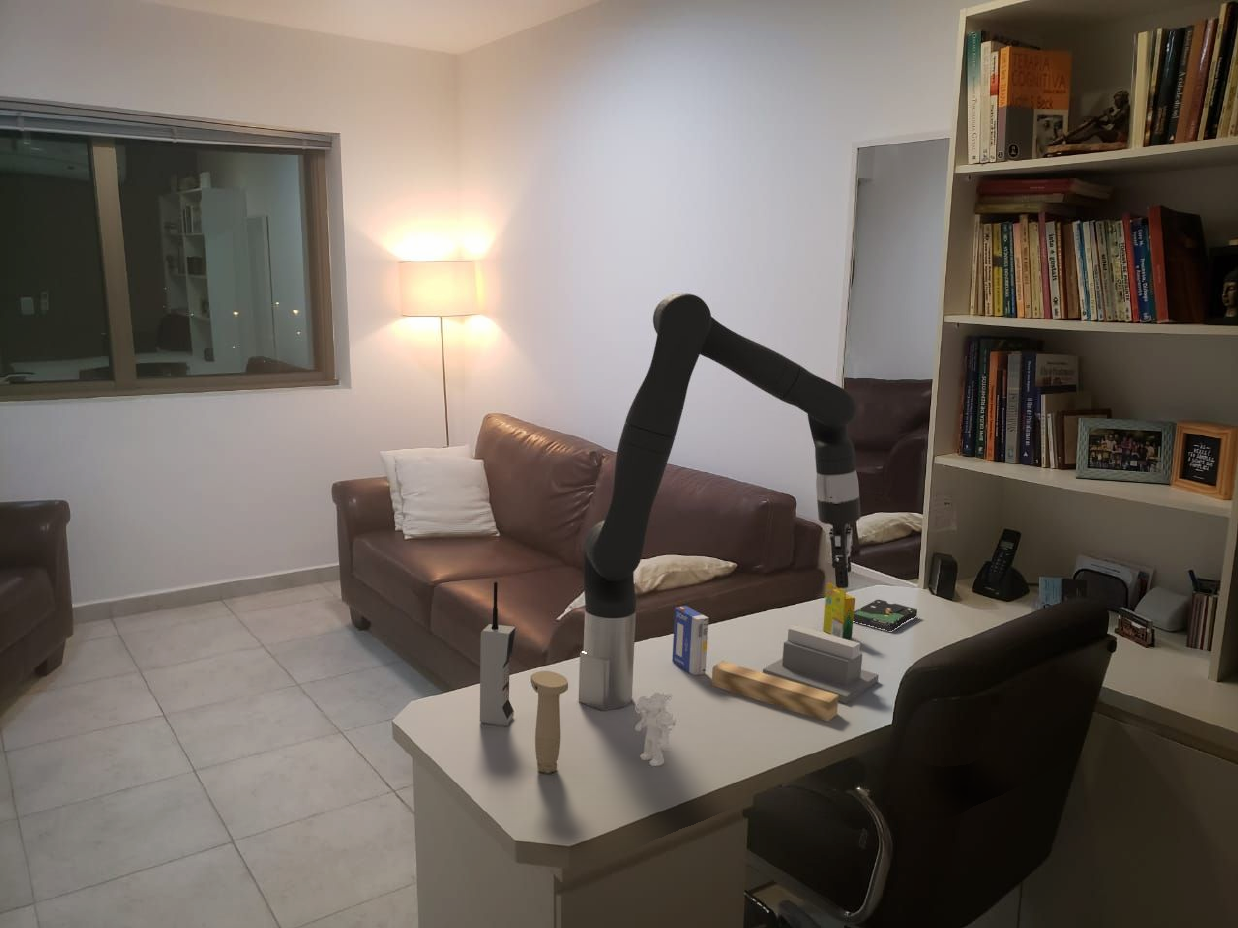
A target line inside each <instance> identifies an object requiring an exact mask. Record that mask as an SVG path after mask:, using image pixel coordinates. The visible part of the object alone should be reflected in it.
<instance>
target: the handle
mask: <svg viewBox="0 0 1238 928" xmlns="http://www.w3.org/2000/svg"><path fill="white" fill-rule="evenodd" d="M530 685H531V687H532V689H533V691H534V692H535V693H537V698H538V699H537V706H536V707H537V709H536V721H535V733H534V734H535V735H534V742H535V743H534V746H535V747H534V749H535V757H536V758H535V759H536V765H537V766H536V768H537V771H538V772H539V773H545V774H550V773H552V772H556V770H557V768H558V760H559V755H560V750H561V747H560V746H561V716H560V715H561V710H560V695H562V694H564V693H565V692H567V691H568V689H569V681H568V678H566V677H565V676H564V675H562V674H561V673H558V672H555V671H551V670H540V671H536V672H533V673H531V674H530Z"/></svg>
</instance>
